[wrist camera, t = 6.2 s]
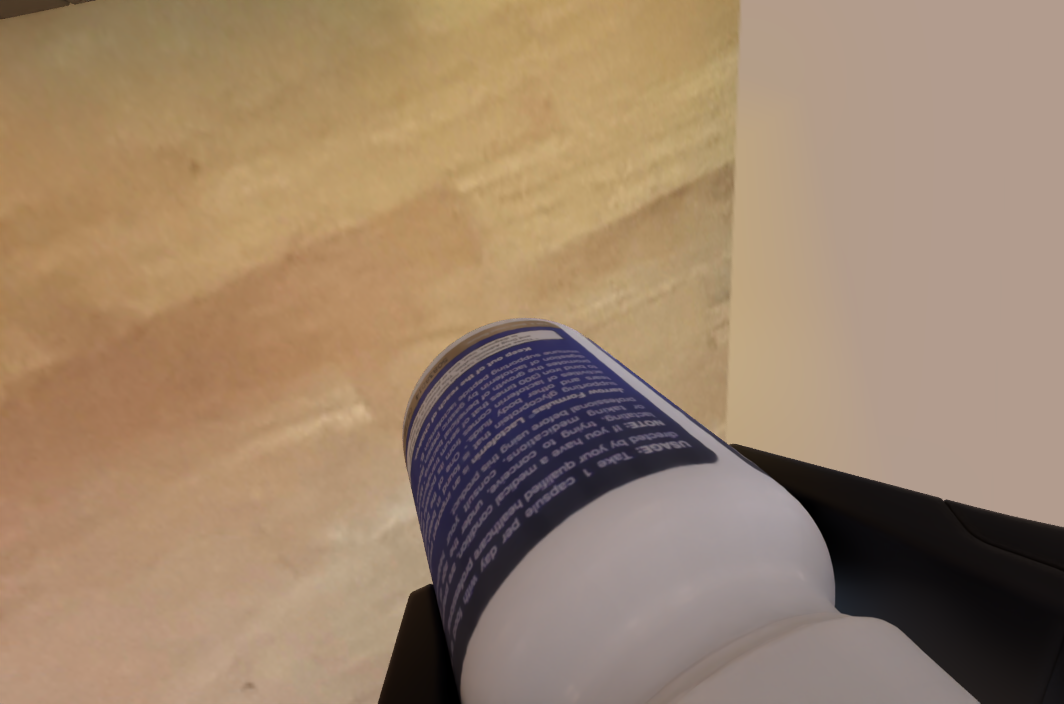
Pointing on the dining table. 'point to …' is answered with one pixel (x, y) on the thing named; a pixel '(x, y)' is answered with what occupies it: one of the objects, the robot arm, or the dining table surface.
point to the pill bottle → (623, 545)
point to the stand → (31, 6)
